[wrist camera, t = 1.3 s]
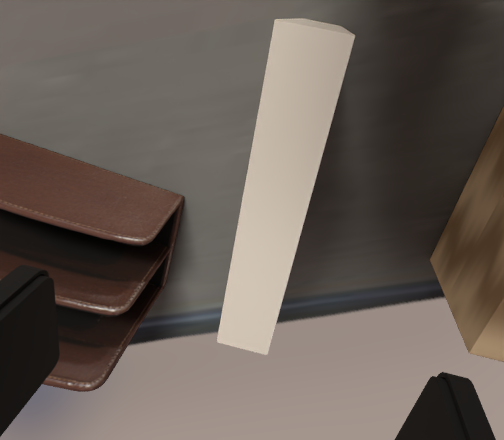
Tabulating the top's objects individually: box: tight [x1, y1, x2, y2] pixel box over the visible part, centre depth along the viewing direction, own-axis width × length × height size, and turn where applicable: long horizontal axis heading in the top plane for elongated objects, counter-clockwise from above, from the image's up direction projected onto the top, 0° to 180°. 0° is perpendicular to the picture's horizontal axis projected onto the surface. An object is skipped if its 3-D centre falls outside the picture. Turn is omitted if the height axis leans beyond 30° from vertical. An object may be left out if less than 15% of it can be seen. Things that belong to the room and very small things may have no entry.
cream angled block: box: [217, 18, 355, 355], centre depth 22 cm, size 14×2×15 cm, turn 170°
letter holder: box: [0, 134, 184, 391], centre depth 29 cm, size 10×20×14 cm, turn 74°
